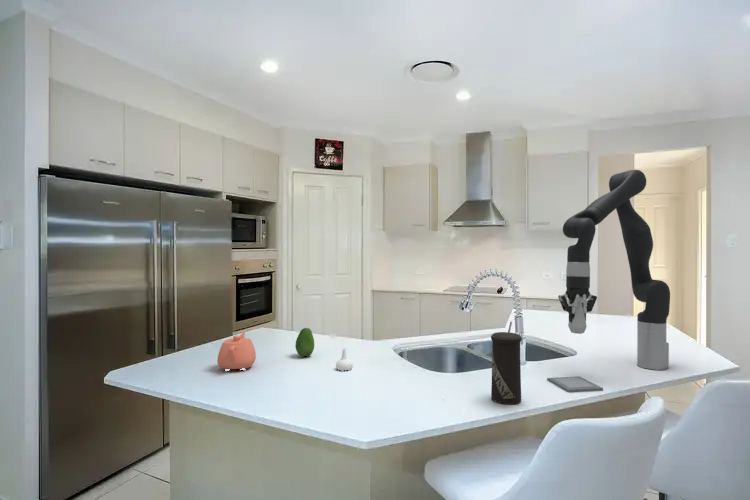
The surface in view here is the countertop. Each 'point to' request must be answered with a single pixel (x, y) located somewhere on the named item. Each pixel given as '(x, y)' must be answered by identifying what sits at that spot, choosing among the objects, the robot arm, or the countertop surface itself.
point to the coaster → (574, 384)
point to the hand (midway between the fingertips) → (577, 323)
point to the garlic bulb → (344, 362)
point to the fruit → (305, 342)
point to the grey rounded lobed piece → (578, 319)
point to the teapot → (236, 353)
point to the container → (506, 368)
